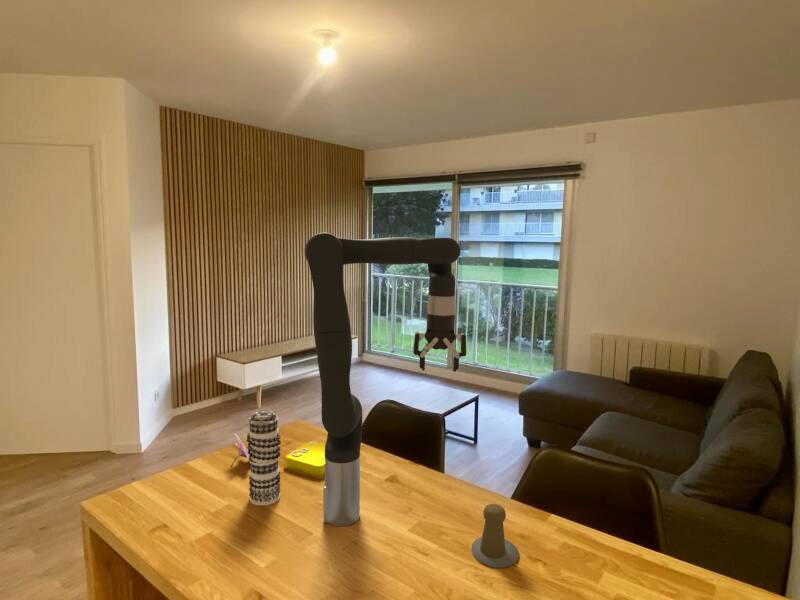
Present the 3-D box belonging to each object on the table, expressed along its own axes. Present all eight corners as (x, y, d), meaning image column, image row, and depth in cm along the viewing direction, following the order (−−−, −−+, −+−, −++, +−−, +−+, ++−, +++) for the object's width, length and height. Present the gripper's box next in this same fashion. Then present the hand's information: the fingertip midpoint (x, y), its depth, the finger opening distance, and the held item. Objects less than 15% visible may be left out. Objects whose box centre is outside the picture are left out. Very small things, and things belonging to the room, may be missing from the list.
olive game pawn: (505, 560, 110) (508, 516, 109) (479, 556, 112) (481, 512, 110) (505, 544, 116) (507, 501, 115) (480, 540, 118) (482, 498, 116)
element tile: (320, 480, 147) (320, 465, 146) (282, 469, 154) (281, 455, 153) (346, 460, 160) (346, 447, 160) (310, 451, 167) (310, 438, 166)
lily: (244, 480, 148) (259, 451, 149) (211, 463, 149) (226, 434, 150) (256, 473, 159) (270, 446, 161) (226, 457, 160) (240, 431, 162)
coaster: (475, 567, 109) (475, 565, 109) (468, 537, 120) (468, 535, 119) (523, 568, 109) (523, 566, 109) (512, 538, 120) (512, 536, 120)
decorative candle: (241, 502, 134) (238, 416, 130) (262, 486, 142) (260, 405, 139) (267, 509, 130) (266, 421, 127) (288, 492, 139) (286, 410, 135)
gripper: (415, 313, 125) (413, 373, 127) (469, 314, 125) (466, 375, 127) (414, 309, 132) (412, 366, 134) (465, 310, 132) (463, 367, 134)
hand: (438, 370), depth 130 cm, fingers open, 8 cm apart
